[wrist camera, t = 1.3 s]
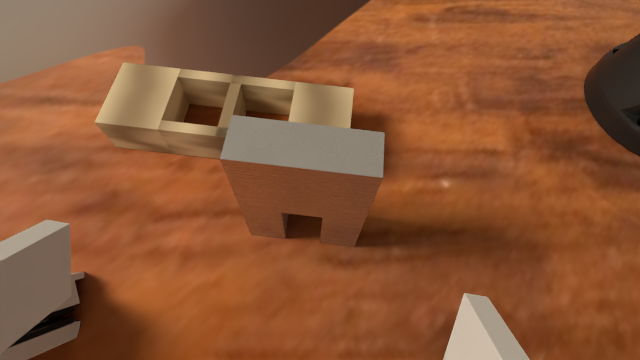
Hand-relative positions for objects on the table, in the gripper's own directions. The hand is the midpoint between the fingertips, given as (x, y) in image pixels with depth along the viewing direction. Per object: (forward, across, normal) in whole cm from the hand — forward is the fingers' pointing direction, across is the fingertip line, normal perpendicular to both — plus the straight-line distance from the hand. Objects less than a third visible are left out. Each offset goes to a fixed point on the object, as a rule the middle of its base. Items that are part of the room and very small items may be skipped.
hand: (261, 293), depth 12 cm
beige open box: (+25, -8, 0) cm, 27 cm away
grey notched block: (+19, 0, -6) cm, 20 cm away
